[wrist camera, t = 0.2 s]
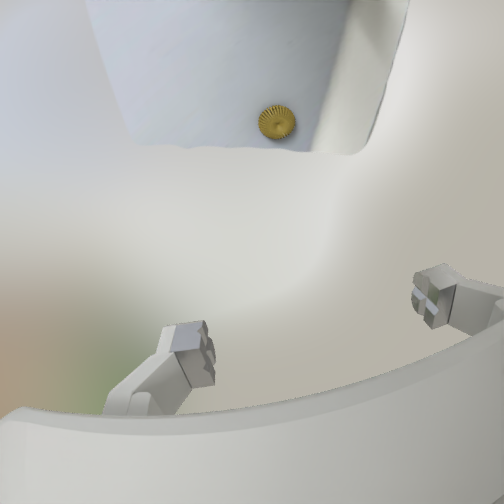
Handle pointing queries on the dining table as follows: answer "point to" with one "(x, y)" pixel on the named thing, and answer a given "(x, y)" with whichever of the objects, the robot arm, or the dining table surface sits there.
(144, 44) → the dining table surface
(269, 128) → the sculpture
